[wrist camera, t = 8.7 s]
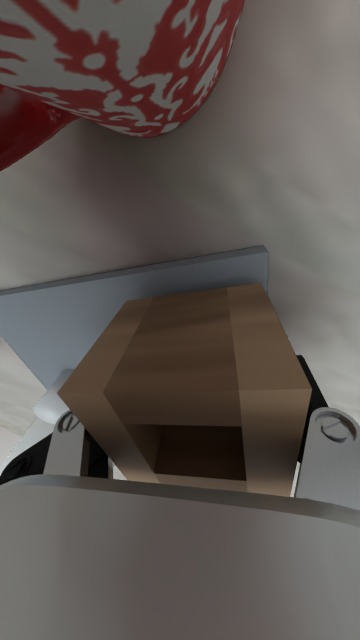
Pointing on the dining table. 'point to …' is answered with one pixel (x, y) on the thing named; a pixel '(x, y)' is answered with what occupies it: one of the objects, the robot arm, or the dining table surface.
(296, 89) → the dining table surface
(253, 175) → the dining table surface
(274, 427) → the brown wooden hollow block
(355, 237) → the dining table surface
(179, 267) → the peg stand
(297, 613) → the robot arm
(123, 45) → the mug
